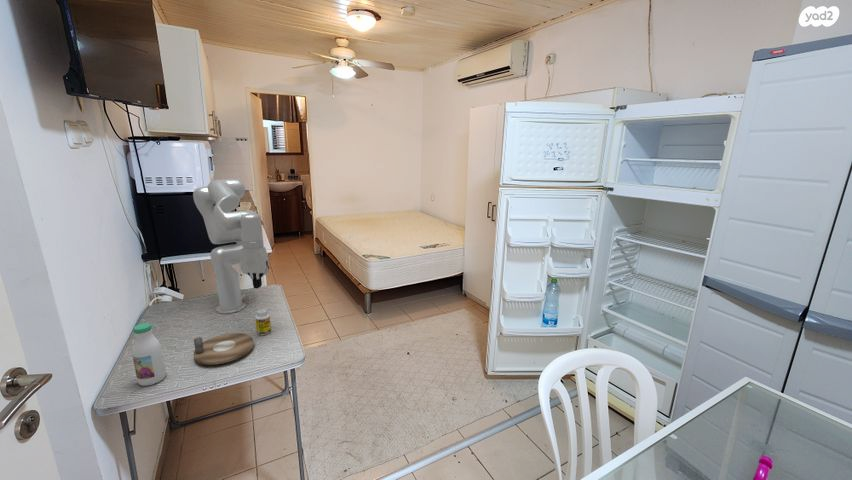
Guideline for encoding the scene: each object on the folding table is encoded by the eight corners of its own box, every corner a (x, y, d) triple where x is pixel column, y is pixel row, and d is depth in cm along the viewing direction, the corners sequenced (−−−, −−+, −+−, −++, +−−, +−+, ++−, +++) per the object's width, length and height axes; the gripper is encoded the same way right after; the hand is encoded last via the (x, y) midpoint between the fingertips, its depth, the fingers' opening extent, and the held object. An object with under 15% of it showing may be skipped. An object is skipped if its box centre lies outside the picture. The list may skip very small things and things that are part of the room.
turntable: (193, 345, 138) (190, 329, 137) (249, 331, 149) (247, 316, 147) (195, 371, 122) (192, 353, 121) (257, 353, 133) (255, 337, 131)
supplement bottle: (258, 337, 147) (255, 314, 145) (256, 331, 152) (253, 309, 149) (272, 333, 150) (270, 311, 148) (270, 328, 155) (267, 306, 152)
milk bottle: (157, 370, 124) (147, 318, 120) (171, 375, 122) (162, 322, 117) (132, 383, 117) (121, 328, 113) (147, 389, 115) (136, 333, 110)
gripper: (229, 246, 138) (234, 289, 142) (266, 247, 137) (270, 291, 141) (241, 241, 145) (245, 283, 150) (275, 242, 144) (279, 284, 148)
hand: (257, 287), depth 145 cm, fingers closed
